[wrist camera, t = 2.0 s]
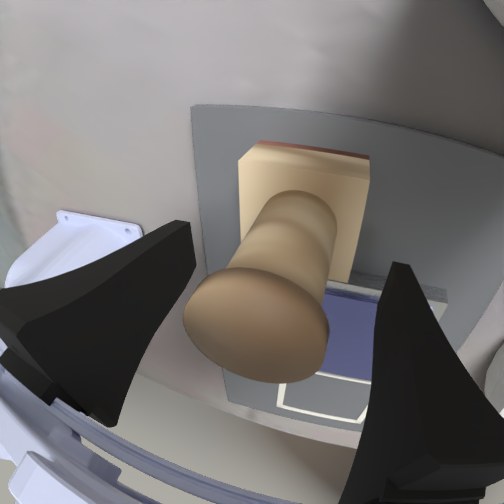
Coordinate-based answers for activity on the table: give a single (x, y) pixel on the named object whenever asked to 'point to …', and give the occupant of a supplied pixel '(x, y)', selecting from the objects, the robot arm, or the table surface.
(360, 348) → the ink pad
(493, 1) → the glass bottle
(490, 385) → the dish
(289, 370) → the stamp
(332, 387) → the desk mat
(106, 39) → the table surface
